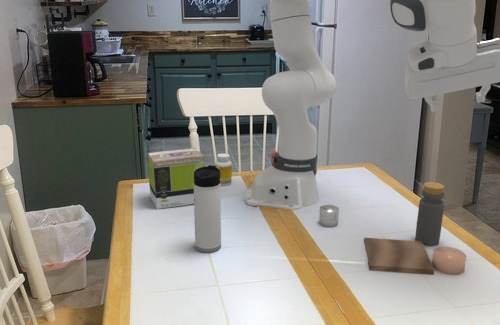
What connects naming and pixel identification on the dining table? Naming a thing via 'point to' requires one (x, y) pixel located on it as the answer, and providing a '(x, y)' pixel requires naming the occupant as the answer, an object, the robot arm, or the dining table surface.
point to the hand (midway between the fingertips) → (457, 105)
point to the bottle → (430, 214)
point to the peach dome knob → (448, 260)
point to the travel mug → (207, 209)
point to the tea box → (173, 176)
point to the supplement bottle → (224, 168)
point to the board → (397, 256)
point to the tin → (328, 216)
